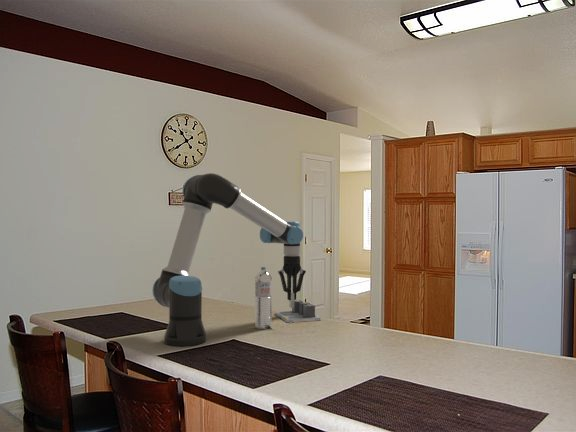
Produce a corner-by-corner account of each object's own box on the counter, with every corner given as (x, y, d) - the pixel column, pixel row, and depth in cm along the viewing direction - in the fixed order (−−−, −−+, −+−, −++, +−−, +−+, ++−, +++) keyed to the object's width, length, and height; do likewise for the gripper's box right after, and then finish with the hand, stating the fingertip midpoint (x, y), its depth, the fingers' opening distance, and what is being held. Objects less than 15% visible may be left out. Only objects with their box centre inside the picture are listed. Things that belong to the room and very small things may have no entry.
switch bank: (320, 323, 213) (320, 317, 213) (287, 325, 209) (287, 319, 209) (305, 315, 231) (305, 309, 231) (275, 317, 227) (275, 311, 227)
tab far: (303, 314, 225) (303, 301, 225) (294, 315, 224) (294, 301, 224) (300, 313, 229) (300, 300, 229) (292, 313, 228) (292, 300, 228)
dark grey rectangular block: (315, 319, 214) (315, 305, 214) (306, 320, 213) (306, 306, 213) (311, 318, 218) (311, 304, 218) (303, 318, 217) (303, 304, 217)
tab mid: (310, 317, 220) (310, 303, 220) (301, 317, 219) (301, 303, 219) (307, 315, 224) (307, 301, 224) (298, 316, 222) (298, 302, 223)
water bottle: (272, 326, 208) (272, 266, 209) (270, 329, 202) (270, 268, 202) (256, 325, 209) (256, 266, 209) (253, 329, 202) (253, 268, 202)
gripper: (302, 254, 231) (302, 305, 231) (275, 255, 228) (275, 306, 227) (308, 255, 224) (308, 307, 224) (280, 256, 220) (280, 309, 220)
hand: (291, 307), depth 226 cm, fingers closed
